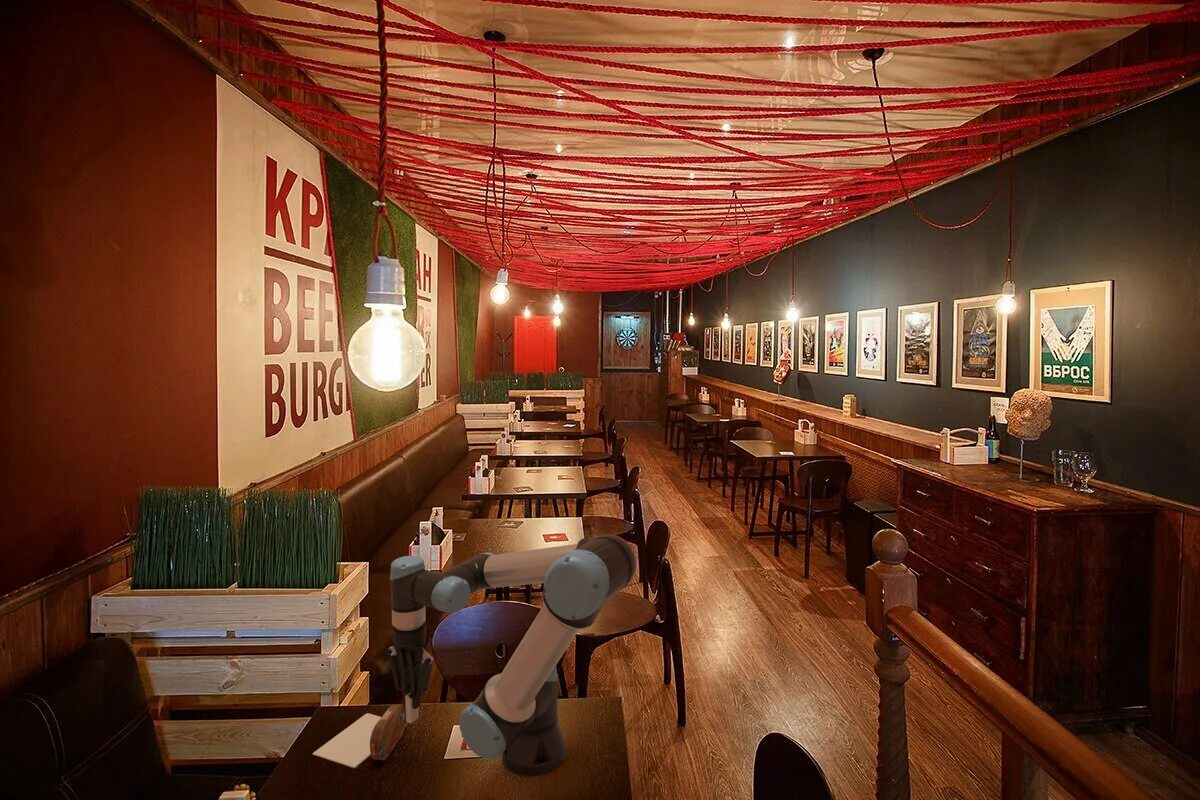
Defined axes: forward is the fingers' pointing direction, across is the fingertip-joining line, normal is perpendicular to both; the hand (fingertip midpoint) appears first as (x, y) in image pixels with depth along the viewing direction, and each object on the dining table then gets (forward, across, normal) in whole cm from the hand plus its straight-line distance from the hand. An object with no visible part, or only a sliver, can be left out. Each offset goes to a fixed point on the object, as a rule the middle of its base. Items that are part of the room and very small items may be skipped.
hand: (412, 719), depth 154 cm
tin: (+9, +8, 0) cm, 12 cm away
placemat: (+9, +16, 0) cm, 19 cm away
